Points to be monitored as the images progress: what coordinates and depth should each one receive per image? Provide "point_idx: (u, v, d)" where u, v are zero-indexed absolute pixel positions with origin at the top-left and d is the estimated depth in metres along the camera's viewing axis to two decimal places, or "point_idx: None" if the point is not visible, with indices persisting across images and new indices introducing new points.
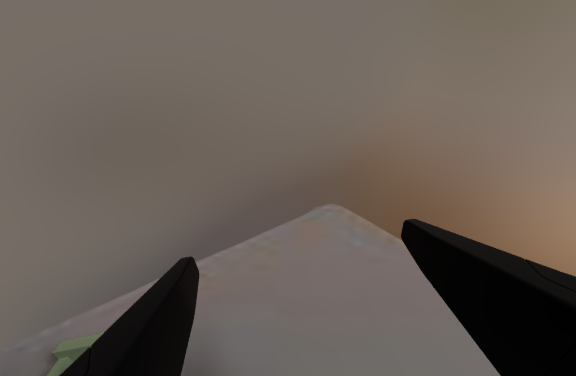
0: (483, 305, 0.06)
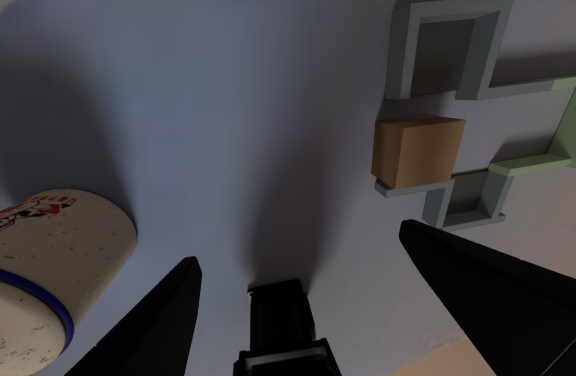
0: (480, 306, 0.06)
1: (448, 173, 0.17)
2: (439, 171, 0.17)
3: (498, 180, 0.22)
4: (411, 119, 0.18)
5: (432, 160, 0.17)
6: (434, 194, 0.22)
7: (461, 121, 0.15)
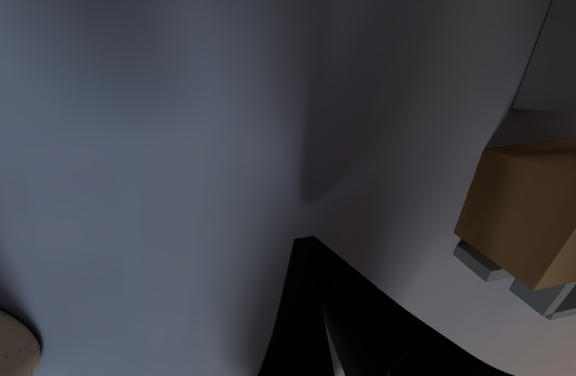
0: (342, 336, 0.06)
1: None
2: None
3: None
4: (562, 149, 0.09)
5: None
6: None
7: None
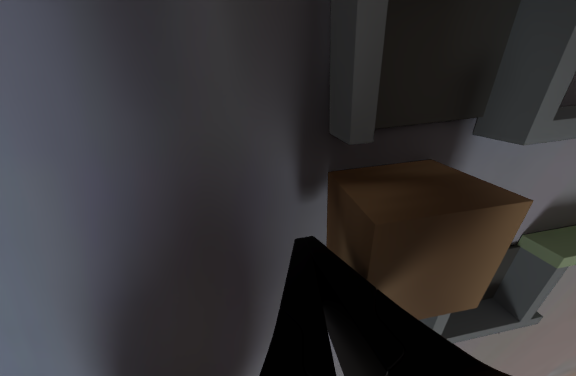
0: (340, 337, 0.06)
1: (476, 297, 0.08)
2: (457, 296, 0.08)
3: (537, 268, 0.13)
4: (401, 176, 0.08)
5: (444, 279, 0.07)
6: None
7: (522, 204, 0.06)
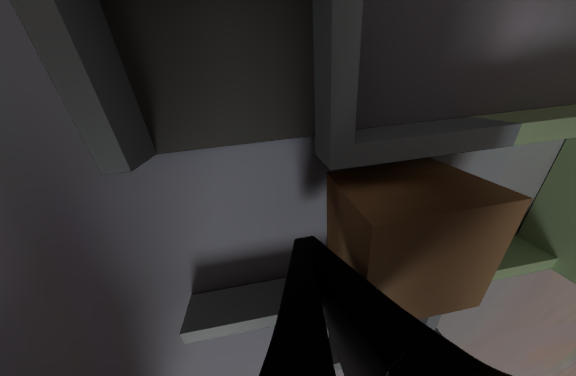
0: (341, 336, 0.06)
1: (477, 295, 0.08)
2: (458, 294, 0.08)
3: None
4: (399, 175, 0.08)
5: (445, 278, 0.07)
6: None
7: (521, 202, 0.06)
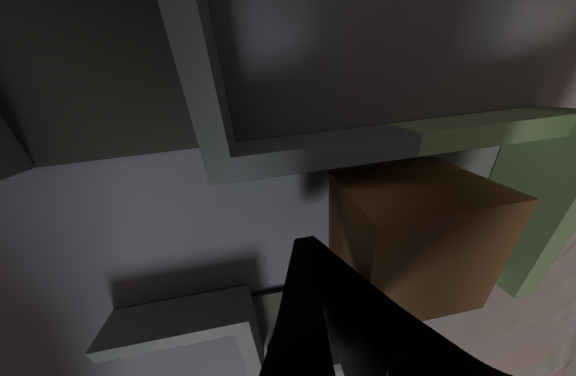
0: (341, 336, 0.06)
1: (481, 297, 0.08)
2: (462, 296, 0.08)
3: None
4: (403, 175, 0.08)
5: (449, 279, 0.07)
6: None
7: (527, 202, 0.06)
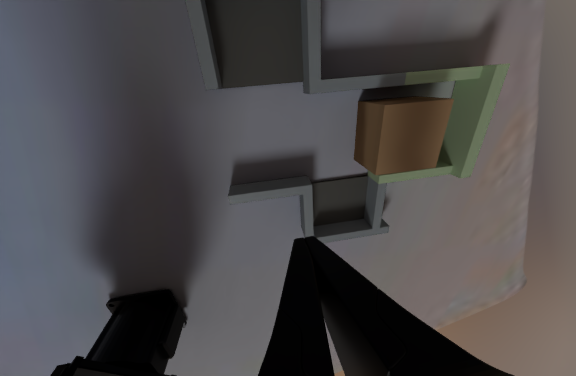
0: (342, 336, 0.06)
1: (434, 159, 0.16)
2: (424, 156, 0.16)
3: (373, 187, 0.19)
4: (396, 99, 0.16)
5: (416, 143, 0.15)
6: (301, 201, 0.19)
7: (449, 100, 0.14)
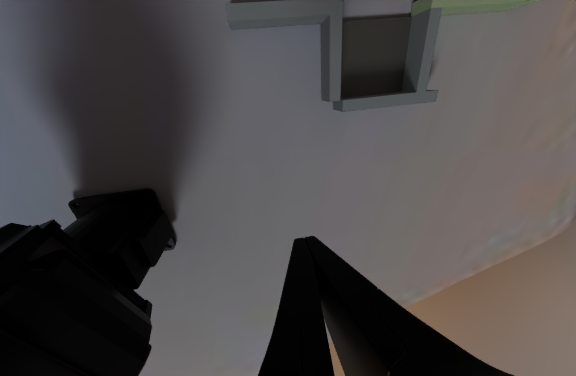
0: (342, 336, 0.06)
1: None
2: None
3: (421, 23, 0.14)
4: None
5: None
6: (324, 43, 0.14)
7: None
